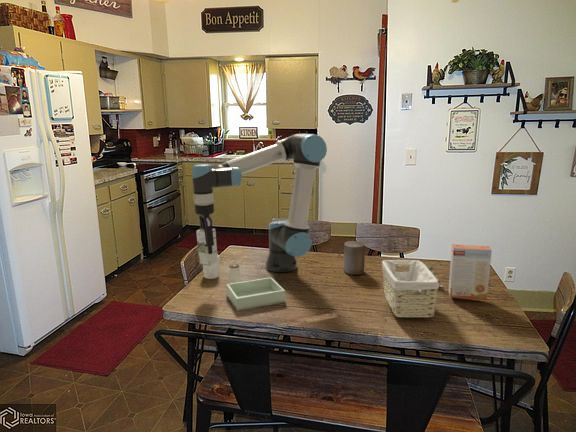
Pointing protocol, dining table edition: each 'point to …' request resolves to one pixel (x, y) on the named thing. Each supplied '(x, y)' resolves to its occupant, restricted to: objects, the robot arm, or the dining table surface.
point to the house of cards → (431, 269)
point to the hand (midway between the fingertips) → (208, 257)
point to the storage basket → (409, 288)
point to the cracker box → (469, 271)
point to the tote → (255, 293)
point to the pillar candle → (354, 257)
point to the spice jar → (234, 273)
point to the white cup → (211, 270)
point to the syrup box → (202, 249)
